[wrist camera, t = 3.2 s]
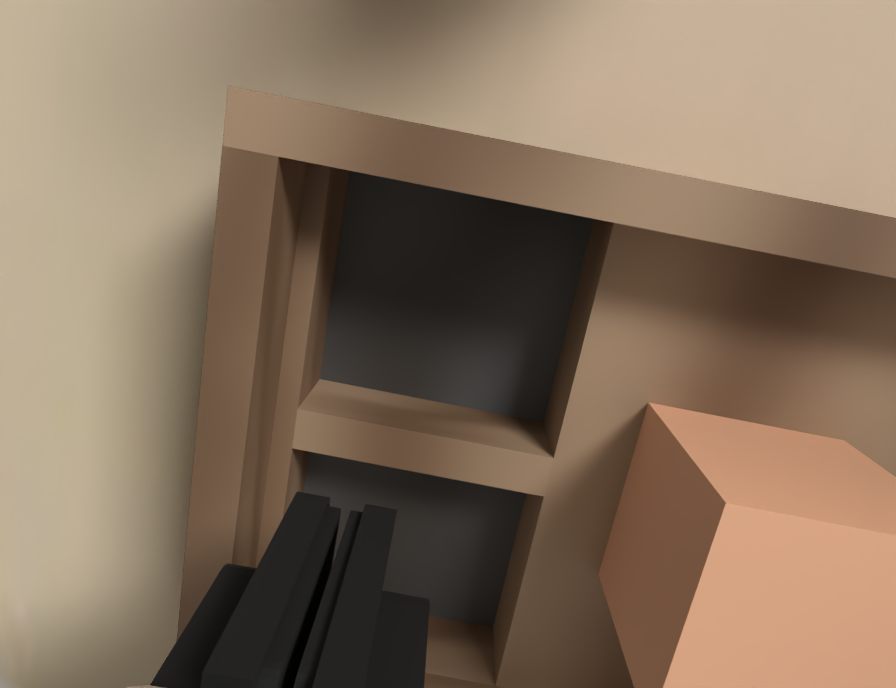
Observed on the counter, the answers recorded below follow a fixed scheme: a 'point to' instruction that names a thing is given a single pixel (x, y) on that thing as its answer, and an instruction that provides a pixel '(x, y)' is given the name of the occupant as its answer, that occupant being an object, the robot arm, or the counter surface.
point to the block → (752, 558)
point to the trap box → (503, 360)
